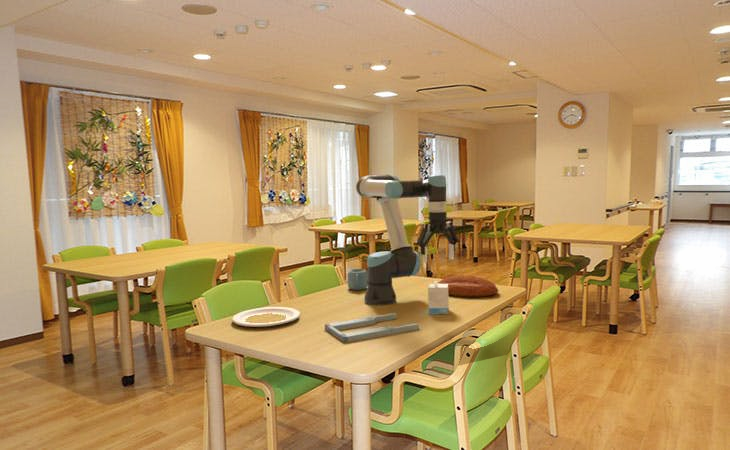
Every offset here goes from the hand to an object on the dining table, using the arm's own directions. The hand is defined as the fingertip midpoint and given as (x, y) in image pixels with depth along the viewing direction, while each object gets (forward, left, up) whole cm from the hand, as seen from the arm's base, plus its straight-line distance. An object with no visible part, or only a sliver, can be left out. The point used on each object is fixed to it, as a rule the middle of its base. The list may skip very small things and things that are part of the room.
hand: (438, 260), depth 217 cm
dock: (+8, -36, -23) cm, 43 cm away
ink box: (0, 0, -23) cm, 23 cm away
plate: (-27, -69, -23) cm, 78 cm away
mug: (-60, -11, -23) cm, 65 cm away
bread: (-23, +32, -23) cm, 46 cm away
